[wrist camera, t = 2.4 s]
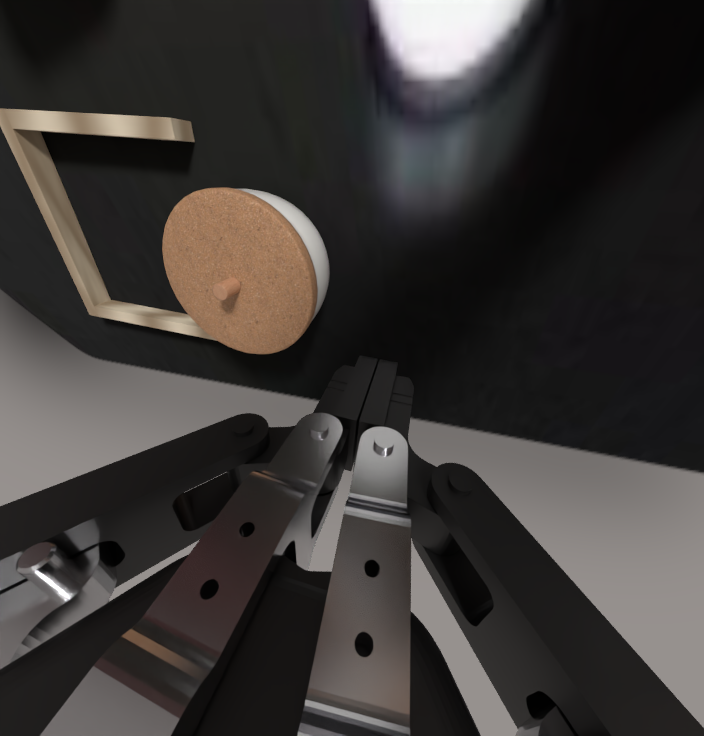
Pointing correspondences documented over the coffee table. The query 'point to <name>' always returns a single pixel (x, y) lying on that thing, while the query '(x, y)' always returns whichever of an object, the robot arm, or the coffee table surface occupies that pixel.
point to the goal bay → (60, 215)
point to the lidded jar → (246, 267)
